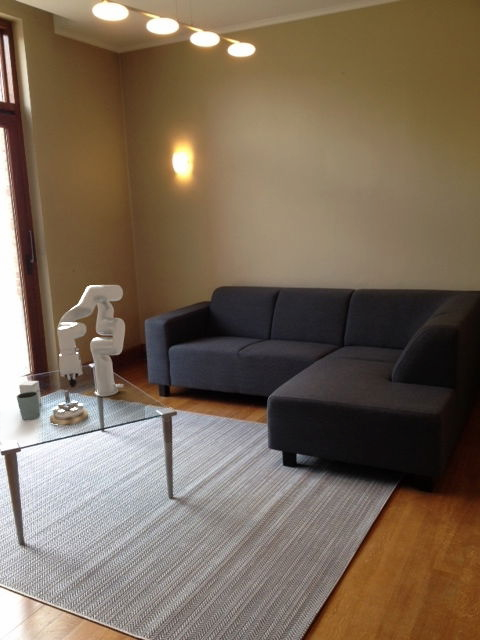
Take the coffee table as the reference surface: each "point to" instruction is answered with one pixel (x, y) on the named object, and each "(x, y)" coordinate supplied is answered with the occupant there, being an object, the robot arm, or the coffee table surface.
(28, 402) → the grey-green cup
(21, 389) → the supplement box
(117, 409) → the coffee table surface
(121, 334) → the robot arm
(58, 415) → the disc with radial blocks
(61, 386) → the coffee table surface
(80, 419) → the round tan disc base
